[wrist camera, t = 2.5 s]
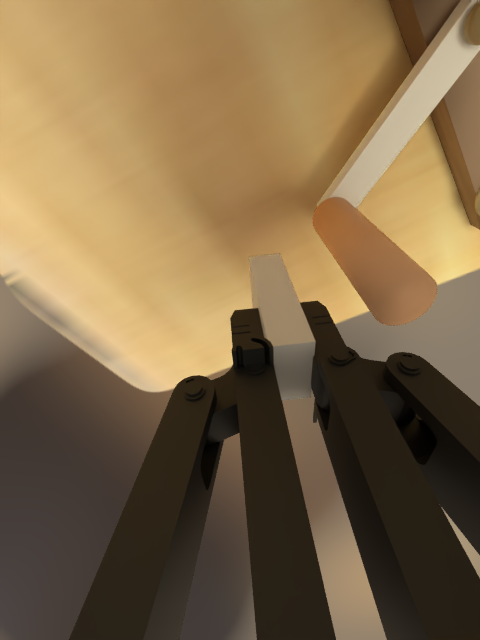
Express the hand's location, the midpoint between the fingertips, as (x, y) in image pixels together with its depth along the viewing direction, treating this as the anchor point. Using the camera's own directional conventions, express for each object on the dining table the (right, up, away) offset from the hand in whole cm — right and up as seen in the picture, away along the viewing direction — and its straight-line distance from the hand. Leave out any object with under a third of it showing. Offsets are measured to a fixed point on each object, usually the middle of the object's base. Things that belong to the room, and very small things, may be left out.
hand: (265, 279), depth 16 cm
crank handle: (+7, +8, +2) cm, 11 cm away
